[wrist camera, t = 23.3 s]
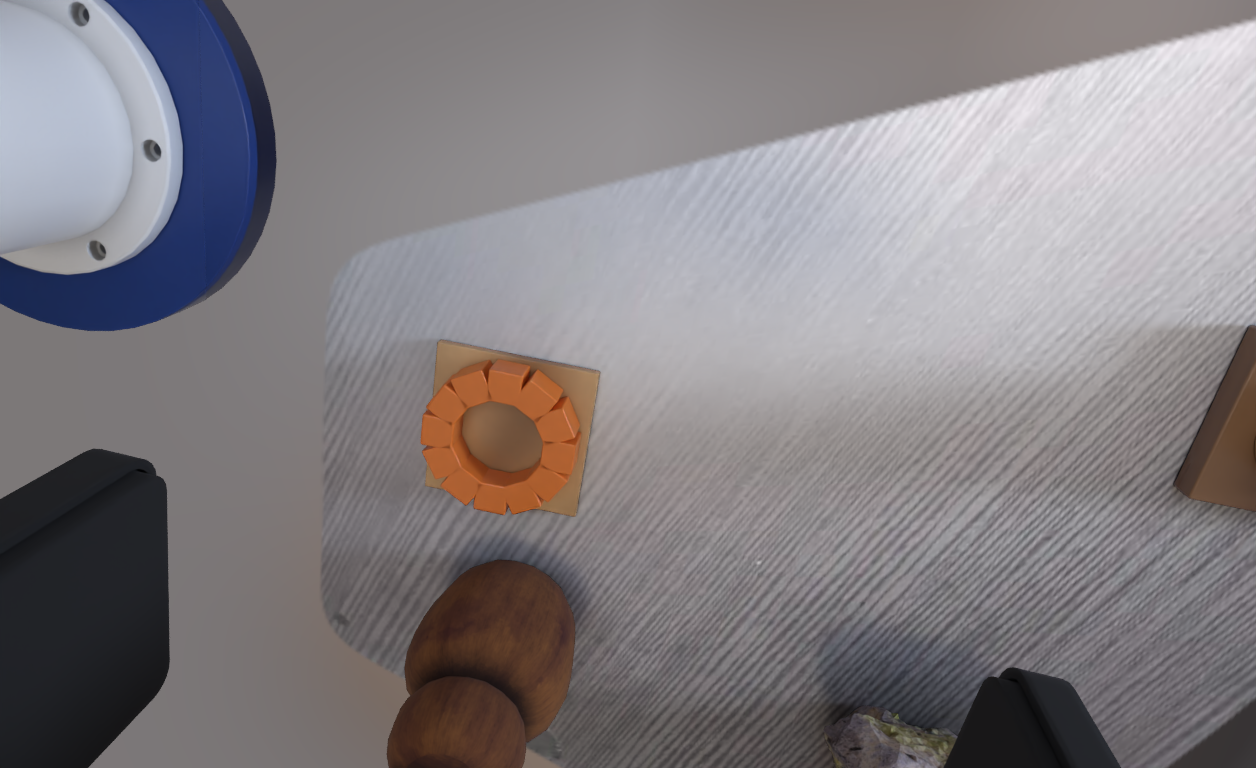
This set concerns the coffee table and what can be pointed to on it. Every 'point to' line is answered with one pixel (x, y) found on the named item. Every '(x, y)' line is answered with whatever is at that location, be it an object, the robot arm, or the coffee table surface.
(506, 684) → the wooden figurine
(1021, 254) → the coffee table surface
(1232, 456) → the post
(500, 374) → the ring
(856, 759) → the rock
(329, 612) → the coffee table surface
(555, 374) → the coaster
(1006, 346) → the coffee table surface
